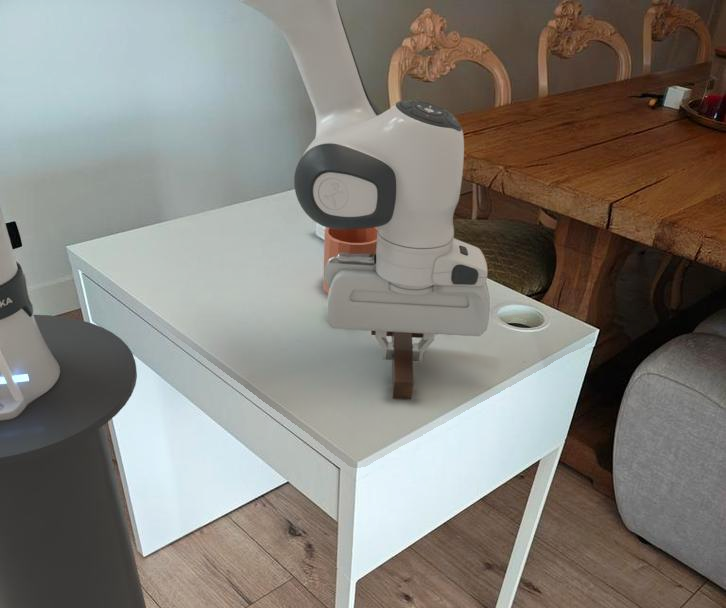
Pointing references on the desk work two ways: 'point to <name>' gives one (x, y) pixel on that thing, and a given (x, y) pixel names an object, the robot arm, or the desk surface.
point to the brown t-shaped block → (402, 364)
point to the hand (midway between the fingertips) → (402, 358)
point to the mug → (348, 243)
